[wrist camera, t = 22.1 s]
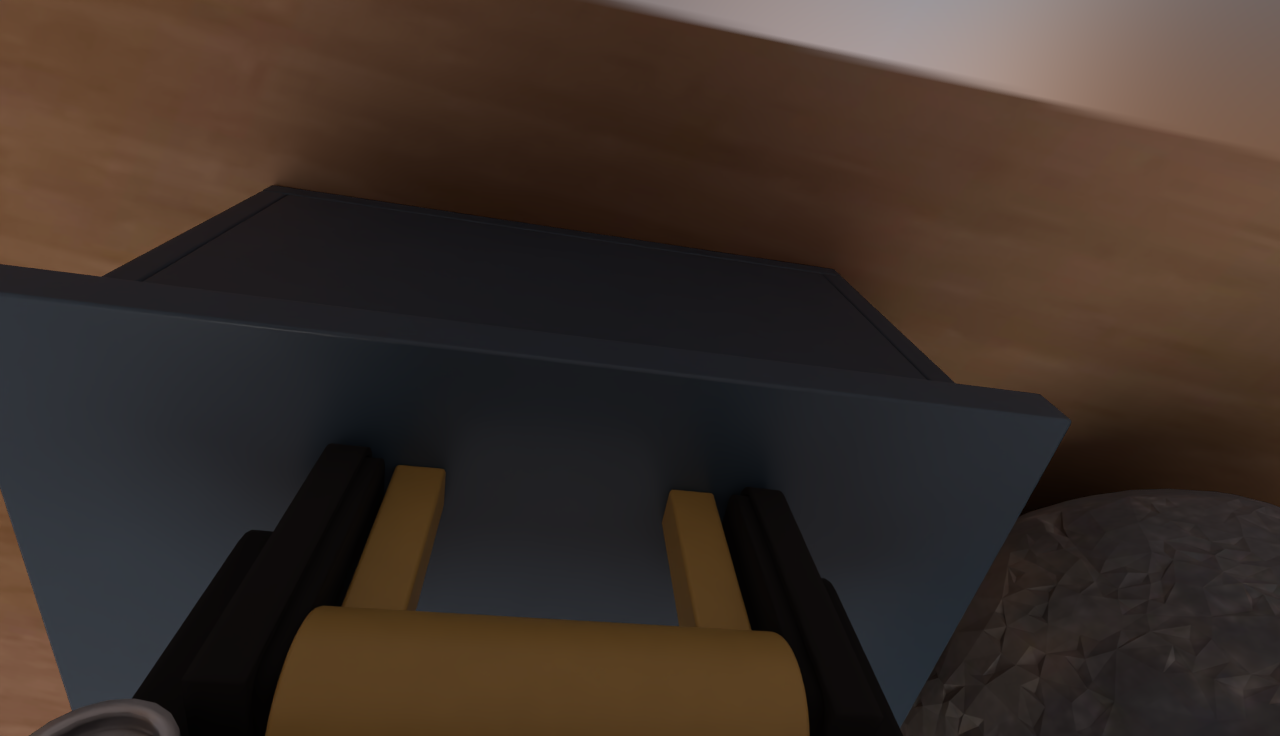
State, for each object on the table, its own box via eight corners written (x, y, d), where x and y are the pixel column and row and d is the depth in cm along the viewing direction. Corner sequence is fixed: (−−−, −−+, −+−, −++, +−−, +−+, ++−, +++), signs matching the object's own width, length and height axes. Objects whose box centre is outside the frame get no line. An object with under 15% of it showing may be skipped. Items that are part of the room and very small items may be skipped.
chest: (271, 184, 17) (24, 315, 9) (834, 269, 19) (1005, 427, 12) (296, 576, 23) (155, 855, 15) (728, 603, 25) (795, 857, 17)
